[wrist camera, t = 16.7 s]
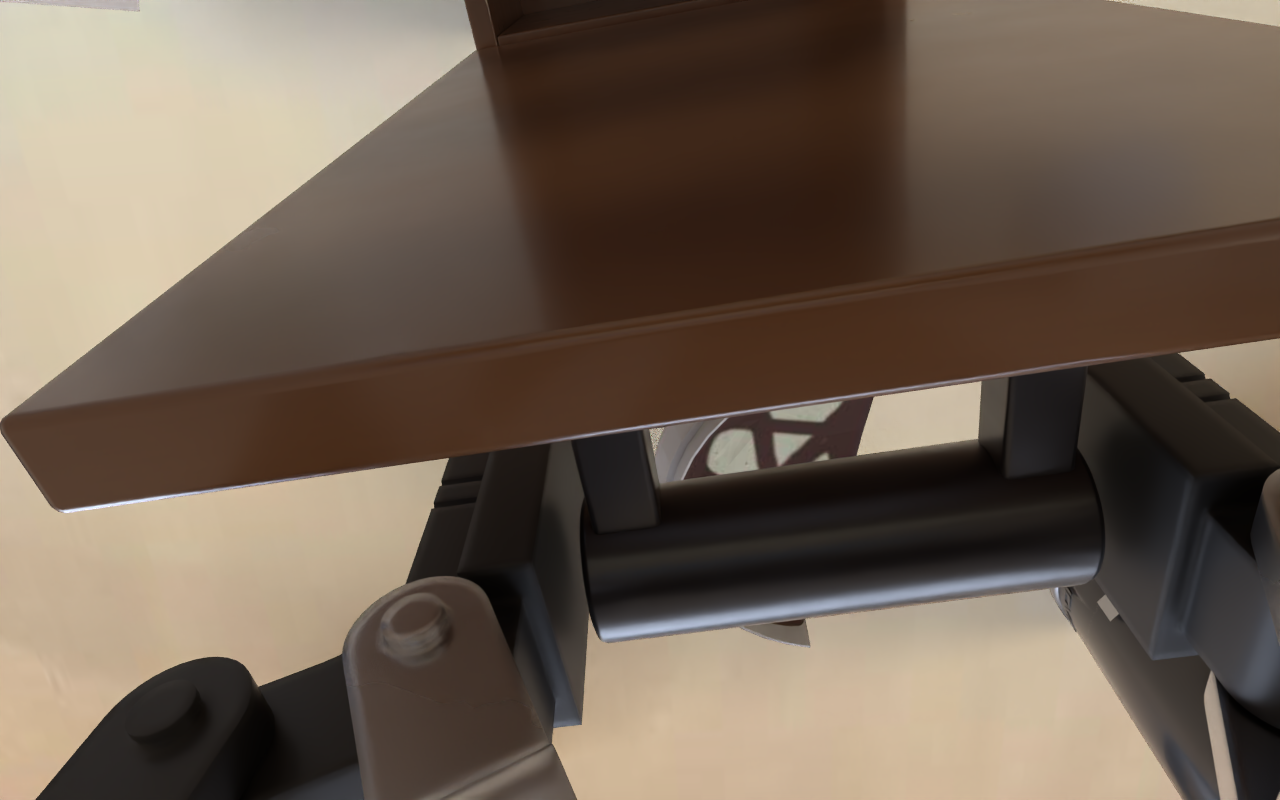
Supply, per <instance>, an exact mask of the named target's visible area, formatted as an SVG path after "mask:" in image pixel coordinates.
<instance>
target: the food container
mask: <svg viewBox="0 0 1280 800" xmlns="http://www.w3.org/2000/svg"><path fill="white" fill-rule="evenodd" d="M872 401H873V397H868V398H861V399H854V400H847V401H840V402H833V403H826V404H819V405H812V406H805V407H798V408H791V409H784V410H777V411H771V412H764V413H757V414H750V415H743V416H736V417H729V418H722V419H715V420H708V421H701V422H694V423H687V424H680V425H673V426H666V427H665V428H664V430H663V432H662V434H661V437H660V439H659V442H658V446H657V450H656V454H655V463H656V468H657V474H658V479H659V483H664V482H671V481H678V480H686V479H693V478H700V477H707V476H715V475H722V474H729V473H736V472H743V471H751V470H758V469H765V468H772V467H779V466H787V465H794V464H801V463H808V462H816V461H823V460H830V459H837V458H844V457H852V456H856V455H857V451H858V448H859V444H860V440H861V436H862V433H863V430H864V426H865V423H866V420H867V417H868V414H869V410H870V407H871V404H872ZM740 628H741V629H743V630H746V631H748V632H750V633H753V634H755V635H758V636H760V637H762V638H765V639H769V640H773V641H777V642H780V643H784V644H788V645H795V646H802V647H809V648H810V642H809V636H808V631H807V626H806V621H805V619H800V620H792V621H784V622H776V623H768V624H760V625H751V626H743V627H740Z"/></svg>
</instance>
